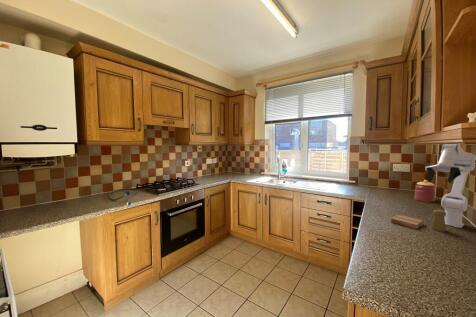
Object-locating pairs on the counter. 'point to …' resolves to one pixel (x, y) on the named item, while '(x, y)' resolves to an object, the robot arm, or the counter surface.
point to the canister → (425, 191)
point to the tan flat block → (407, 221)
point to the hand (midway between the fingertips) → (439, 181)
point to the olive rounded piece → (439, 221)
